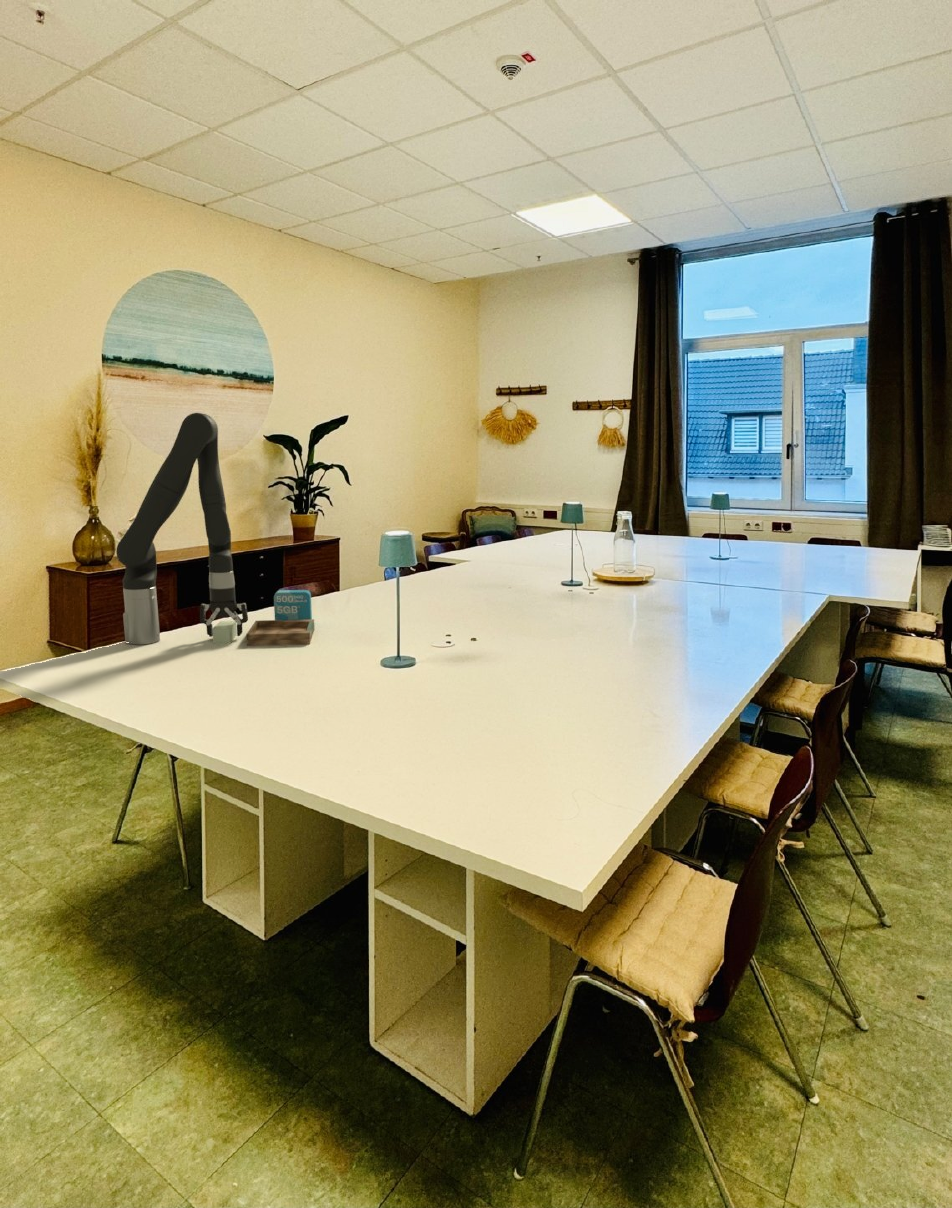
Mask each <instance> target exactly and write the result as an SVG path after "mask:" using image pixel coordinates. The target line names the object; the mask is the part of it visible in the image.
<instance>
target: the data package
mask: <svg viewBox="0 0 952 1208" xmlns="http://www.w3.org/2000/svg"><path fill="white" fill-rule="evenodd" d="M273 606H274V607H273V610H274V612H273V613H274V620H308V619H313V614H312V594H311V592H310V590H308V589H307V590H306V589H297V590H296V589H293V590H292V589H290V590H289V589H287V590H285V589H284V590H281V589H280V590H277V591H276V592H275V593H274V596H273Z"/></svg>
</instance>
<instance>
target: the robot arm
mask: <svg viewBox="0 0 952 1208" xmlns="http://www.w3.org/2000/svg"><path fill="white" fill-rule="evenodd" d="M218 435H219V428H218V424H217V422H216V420H215V419H214V418H213V417H212V416H211V415H209V414H207V413H201V412H192V413H190V414H188V415H187V416H186V417H185V418H184V419H183V421H182V422H181V425H180V427H179V430H178V433H177V435H176V438H175V441H174V443H173V445H172V447H171V449H170V451H169V454H168V455H167V457H165V460H164V461H163V463H162V465H161V466H160V468H159V469H158V471H157V473H156V475H154V476H155V477H153V478H154V479H153V480H152V482H151V484H150V486H149V488H148V490H147V492H146V495H145V496H144V498H143V501H142V503H140V507H139V509H138V511H137V512H136V516H135V518H134V520H133V521H132V522H131V524H130V526H129V527H128V529H127V530H126V532H125V533H124V535H123V536H122V538H121V539H120V541H119V542H118V544H117V546H116V553H115V554H116V557H117V560H118V562H119V563H121V564H122V565H123V566H125V572H124V576H123V578H122V589H123V590H122V592H123V602H124V604H123V605H124V612H123V614H122V618H123V627H124V628H123V629H124V640H125V644H126V645H127V644H130V645H149V644H153V643H157V642H159V641H160V640H161V635H160V634H161V633H160V620H159V609H158V600H157V599H158V597H157V585H156V584H157V583H156V582H157V577H158V575H157V574H158V569H157V568H158V567H157V566H158V565H157V551H156V546H155V543H154V539H155V537H156V535H157V534H158V532H159V530H160V528H161V527H162V526H163V525H164V524H165V522H167V521H168V519H170V517H171V515H173V514H174V512H175V510H176V509H177V508H178V506H179V504H180V503H181V500H183V497H184V496H185V493H186V491H187V488H188V486H189V483H190V480H191V476H192V473H193V469H194V465H195V463H196V461H197V467H198V468H197V470H198V492H199V498H200V503H201V508H202V512H203V516H204V518H203V519H204V527H205V532H206V538H207V544H208V551H209V552H208V571H209V573H208V574H209V575H208V583H209V584H208V587H209V600H210V601H209V604H206V603H201V604H200V605H199V623H200V624H202V625H205V626H206V634H207V636H209V637H212V638H213V631H212V628H213V623H212V622H213V621H214V620H215V619H216V618H218V619H220V618H226V619H228V618H231V619H232V621H235V622H236V630H237V636H236V637H240V636H241V635H242V634H243V624H244V623H247V622H248V620H249V616H248V615H249V614H248V608H247V607H248V606H247V603H246V602H242V603H237V600H236V587H235V585H236V581H235V575H234V565H233V556H232V535H231V534H232V533H231V528H230V524H229V520H228V519H229V518H228V514H227V503H226V502H227V501H226V497H225V491H224V485H223V479H222V474H221V470H220V462H219V461H220V460H219V448H218V447H219V445H218V444H219V437H218ZM237 609H239V611H241V615H242V616H241V617H242V618H241V617H240V616H239V614H238V613H237V612H236V610H237ZM208 610H210V611H211V612H212V614H211V615H210V617H209V618H208V619H206V618H207V616H206V612H207V611H208ZM126 642H129V643H126Z"/></svg>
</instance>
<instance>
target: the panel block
mask: <svg viewBox="0 0 952 1208" xmlns="http://www.w3.org/2000/svg"><path fill="white" fill-rule="evenodd" d="M212 631H213V636H212V643H213V644H231V642H232V641H233V640H234V639H236V637H238V636H237V623H236V622H235V620H227V621H225V620H223V621H222V620H220V621H218V623H216V625H214V626H212Z"/></svg>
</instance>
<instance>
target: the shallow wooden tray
mask: <svg viewBox="0 0 952 1208" xmlns="http://www.w3.org/2000/svg"><path fill="white" fill-rule="evenodd" d="M314 632H315V619H314V618H312V619H308V620H275V619H273V620H271V619H270V620H262V619H261V620H255V621H254V623H253V624H252V626H251V627H250V628H249V630H248V631H247V633H246V646H251V647H253V646H256V647H257V646H283V645H284V646H287V645H288V646H289V645H291V646H292V645H293V646H294V645H310V644H311V642H312V638H313V636H314Z"/></svg>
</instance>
